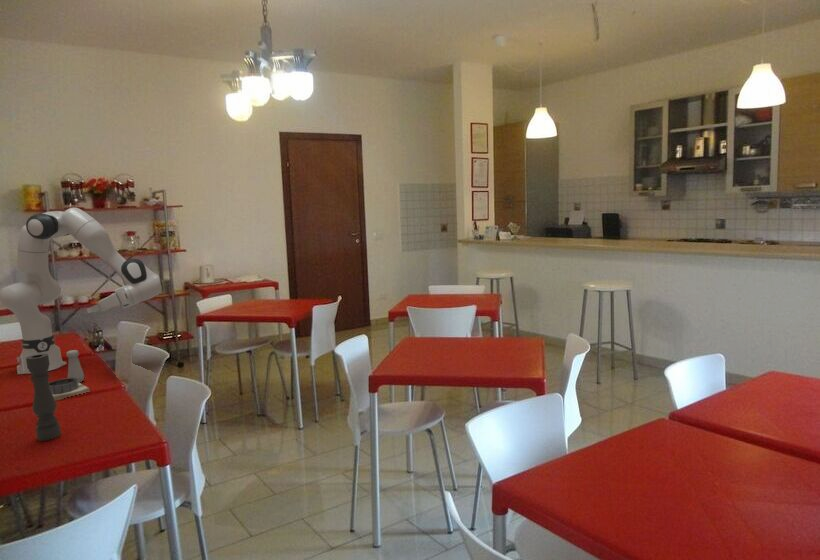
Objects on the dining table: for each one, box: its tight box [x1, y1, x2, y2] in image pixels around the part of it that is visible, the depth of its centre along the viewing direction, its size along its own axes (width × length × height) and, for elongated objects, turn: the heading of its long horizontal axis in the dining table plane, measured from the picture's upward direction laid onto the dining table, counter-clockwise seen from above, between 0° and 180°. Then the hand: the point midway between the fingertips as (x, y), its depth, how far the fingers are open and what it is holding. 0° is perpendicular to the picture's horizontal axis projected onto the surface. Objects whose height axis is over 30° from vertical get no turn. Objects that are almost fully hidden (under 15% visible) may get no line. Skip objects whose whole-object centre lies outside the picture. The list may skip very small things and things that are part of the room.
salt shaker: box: [65, 349, 85, 383], centre depth 236 cm, size 6×6×13 cm
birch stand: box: [52, 382, 91, 402], centre depth 223 cm, size 14×14×2 cm
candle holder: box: [26, 354, 62, 442], centre depth 178 cm, size 6×6×25 cm
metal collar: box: [49, 377, 79, 394], centre depth 222 cm, size 10×10×3 cm
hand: (87, 311), depth 238 cm, fingers open, 8 cm apart
